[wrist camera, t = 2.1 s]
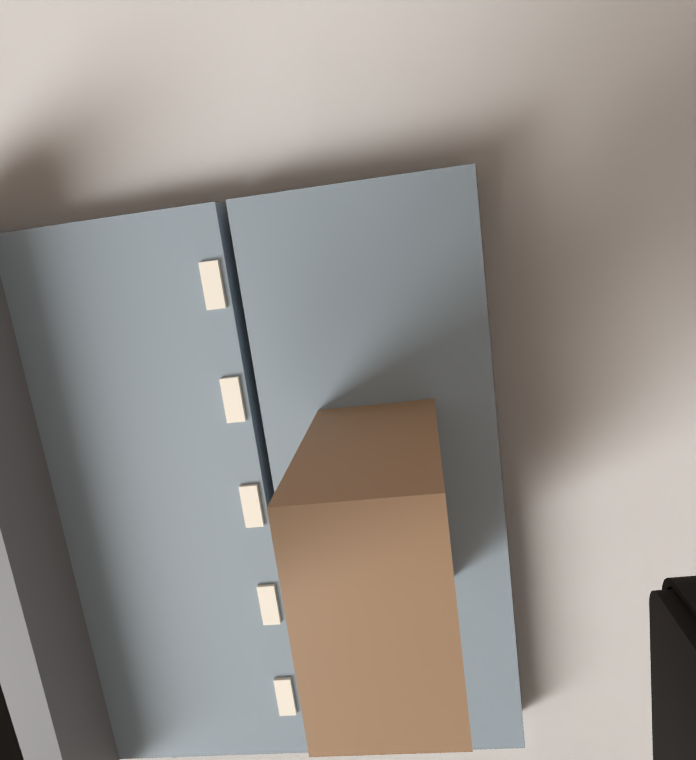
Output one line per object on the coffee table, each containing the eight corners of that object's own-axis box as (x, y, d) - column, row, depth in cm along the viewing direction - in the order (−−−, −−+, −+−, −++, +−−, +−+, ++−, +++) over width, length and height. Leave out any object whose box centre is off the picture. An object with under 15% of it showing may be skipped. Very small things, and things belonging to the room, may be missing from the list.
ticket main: (225, 183, 17) (176, 172, 14) (317, 735, 21) (296, 839, 17) (-86, 229, 18) (-205, 231, 15) (53, 746, 22) (-15, 844, 18)
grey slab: (470, 167, 16) (512, 124, 9) (518, 717, 20) (575, 987, 13) (238, 201, 17) (114, 184, 10) (323, 724, 20) (276, 983, 13)
